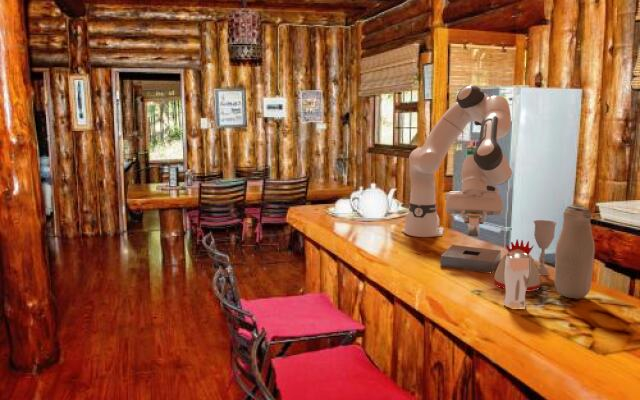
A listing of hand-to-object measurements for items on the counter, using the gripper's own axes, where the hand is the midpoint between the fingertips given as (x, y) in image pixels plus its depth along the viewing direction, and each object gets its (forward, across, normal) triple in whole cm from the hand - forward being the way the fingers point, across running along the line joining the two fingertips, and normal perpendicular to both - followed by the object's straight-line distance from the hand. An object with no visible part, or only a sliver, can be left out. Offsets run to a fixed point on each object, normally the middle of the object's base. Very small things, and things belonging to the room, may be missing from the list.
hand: (473, 222), depth 191 cm
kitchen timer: (+26, +13, -4) cm, 29 cm away
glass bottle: (+32, +27, -10) cm, 43 cm away
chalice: (+15, +23, +6) cm, 28 cm away
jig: (+10, 0, +11) cm, 15 cm away
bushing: (+3, 0, +4) cm, 5 cm away
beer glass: (+41, +10, -19) cm, 46 cm away
